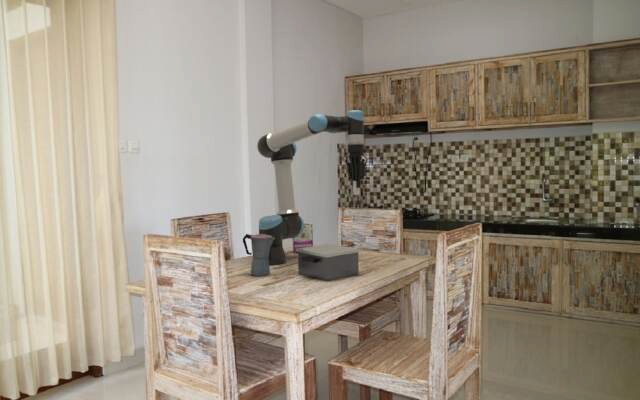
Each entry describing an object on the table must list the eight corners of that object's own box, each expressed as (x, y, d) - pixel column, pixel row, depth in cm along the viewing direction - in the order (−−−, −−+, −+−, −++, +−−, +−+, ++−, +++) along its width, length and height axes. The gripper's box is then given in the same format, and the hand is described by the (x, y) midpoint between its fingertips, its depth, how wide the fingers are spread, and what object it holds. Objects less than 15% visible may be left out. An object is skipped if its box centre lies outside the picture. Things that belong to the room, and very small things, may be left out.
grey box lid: (296, 251, 220) (296, 248, 219) (328, 246, 232) (328, 244, 232) (326, 257, 203) (326, 254, 203) (359, 251, 215) (359, 249, 215)
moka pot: (272, 277, 215) (271, 231, 214) (239, 276, 218) (237, 231, 217) (278, 272, 224) (277, 228, 223) (246, 271, 227) (245, 228, 226)
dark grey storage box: (294, 274, 219) (293, 252, 218) (329, 268, 232) (328, 247, 231) (323, 282, 203) (322, 258, 203) (358, 274, 216) (358, 252, 215)
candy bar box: (311, 250, 282) (311, 222, 281) (313, 252, 277) (312, 223, 276) (292, 251, 280) (291, 223, 279) (293, 253, 275) (292, 224, 274)
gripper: (371, 143, 226) (372, 194, 228) (352, 145, 236) (352, 194, 238) (359, 143, 221) (360, 195, 223) (340, 144, 231) (341, 194, 233)
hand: (356, 194), depth 230 cm, fingers closed
